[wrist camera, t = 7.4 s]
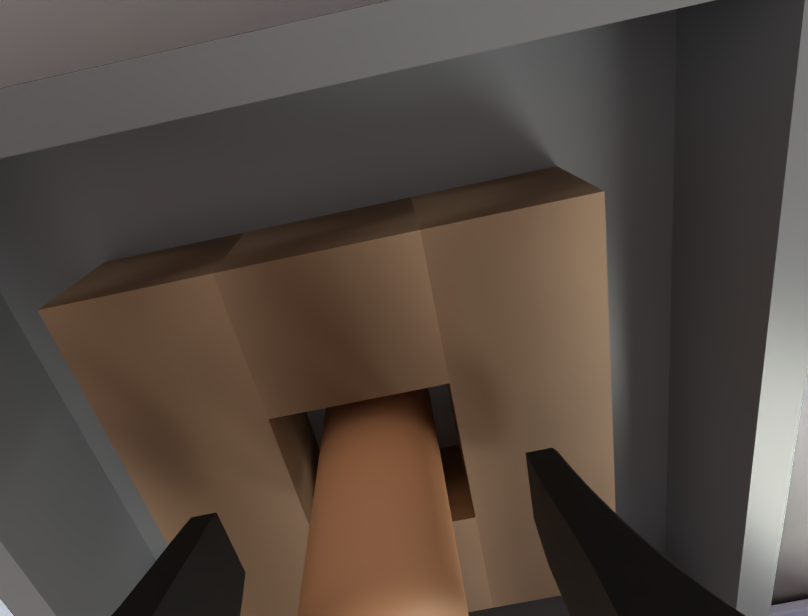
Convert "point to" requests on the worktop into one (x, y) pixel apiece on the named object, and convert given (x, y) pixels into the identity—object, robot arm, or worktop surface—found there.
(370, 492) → the peg
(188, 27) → the worktop surface
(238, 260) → the socket block
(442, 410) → the tray
